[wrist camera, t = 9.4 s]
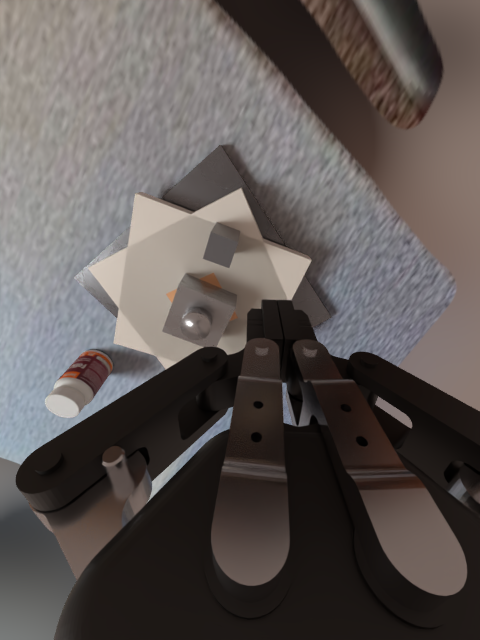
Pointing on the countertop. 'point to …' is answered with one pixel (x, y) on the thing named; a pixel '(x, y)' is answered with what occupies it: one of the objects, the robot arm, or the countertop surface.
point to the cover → (200, 312)
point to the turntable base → (193, 194)
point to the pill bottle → (79, 384)
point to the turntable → (193, 270)
